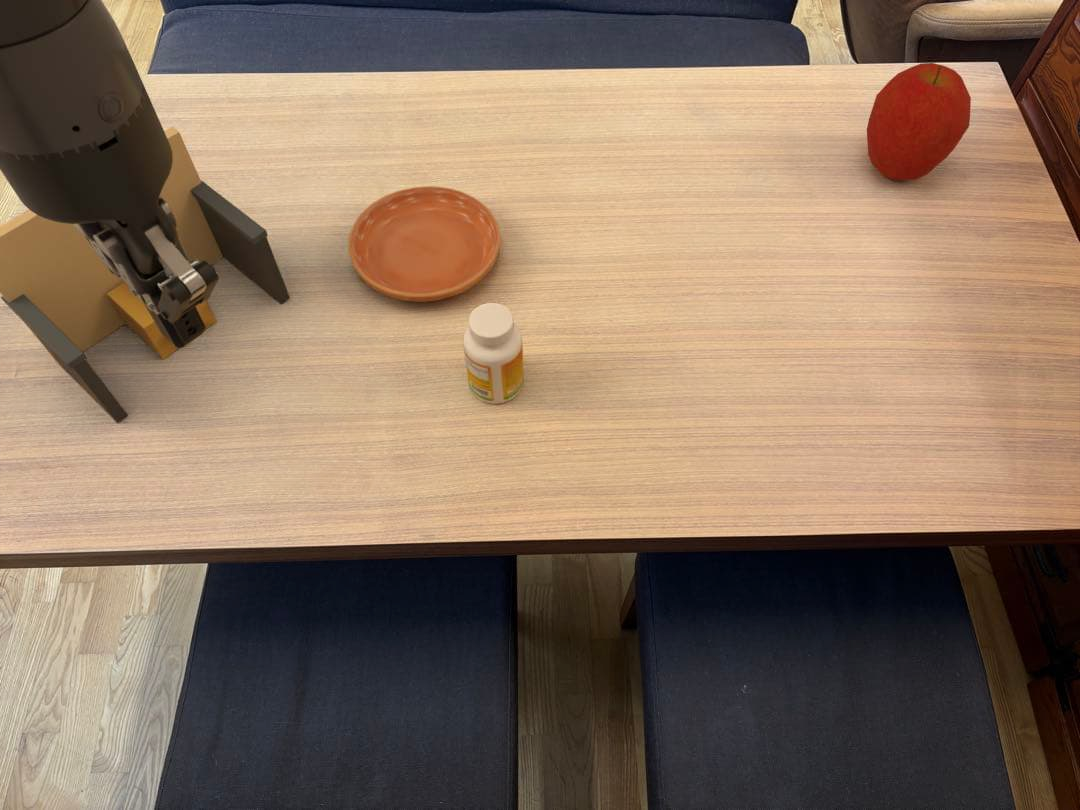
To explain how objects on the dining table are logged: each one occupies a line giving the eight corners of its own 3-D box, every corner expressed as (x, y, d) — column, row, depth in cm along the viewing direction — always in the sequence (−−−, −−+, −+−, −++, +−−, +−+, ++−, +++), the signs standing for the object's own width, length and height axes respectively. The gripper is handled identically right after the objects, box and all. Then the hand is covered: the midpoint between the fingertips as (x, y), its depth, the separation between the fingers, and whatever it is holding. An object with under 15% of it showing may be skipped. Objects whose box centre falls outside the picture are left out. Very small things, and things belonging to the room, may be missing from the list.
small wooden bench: (291, 297, 89) (247, 179, 76) (115, 425, 80) (30, 318, 67) (227, 245, 93) (173, 125, 80) (53, 361, 84) (-40, 248, 71)
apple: (935, 209, 95) (989, 105, 84) (845, 188, 97) (886, 83, 86) (944, 151, 101) (996, 46, 89) (859, 132, 103) (899, 26, 91)
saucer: (520, 222, 95) (519, 202, 92) (471, 329, 86) (468, 310, 84) (388, 192, 97) (384, 172, 95) (328, 293, 89) (322, 274, 87)
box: (163, 359, 85) (143, 328, 80) (127, 325, 87) (105, 293, 83) (217, 321, 87) (200, 289, 83) (180, 289, 90) (162, 256, 85)
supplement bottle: (520, 357, 84) (518, 293, 76) (526, 402, 82) (524, 340, 73) (466, 362, 84) (458, 299, 76) (470, 408, 81) (462, 346, 73)
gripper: (-92, 75, 40) (75, 315, 54) (59, 204, 35) (199, 431, 49) (52, 8, 43) (174, 251, 57) (210, 117, 38) (300, 354, 52)
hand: (186, 334), depth 53 cm, fingers closed
